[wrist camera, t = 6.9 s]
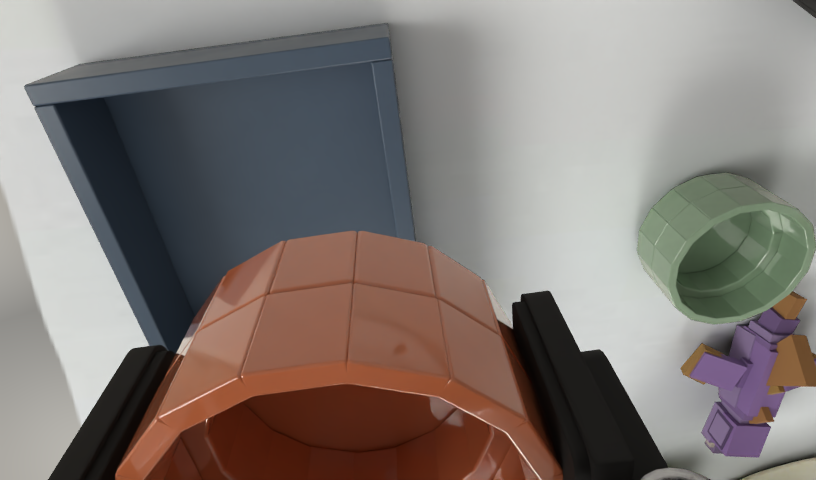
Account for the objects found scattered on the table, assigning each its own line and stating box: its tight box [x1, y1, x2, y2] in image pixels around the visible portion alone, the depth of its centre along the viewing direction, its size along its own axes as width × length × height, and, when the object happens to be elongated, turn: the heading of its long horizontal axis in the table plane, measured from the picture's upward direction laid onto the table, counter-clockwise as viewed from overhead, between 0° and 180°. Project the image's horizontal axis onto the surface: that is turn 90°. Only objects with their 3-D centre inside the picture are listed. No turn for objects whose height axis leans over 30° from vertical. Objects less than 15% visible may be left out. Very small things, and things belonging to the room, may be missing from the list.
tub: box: [24, 23, 416, 355], centre depth 25 cm, size 18×14×4 cm
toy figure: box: [681, 291, 816, 457], centre depth 31 cm, size 12×8×5 cm
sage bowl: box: [637, 173, 816, 324], centre depth 26 cm, size 7×7×4 cm
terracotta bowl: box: [115, 230, 563, 480], centre depth 10 cm, size 7×7×4 cm
